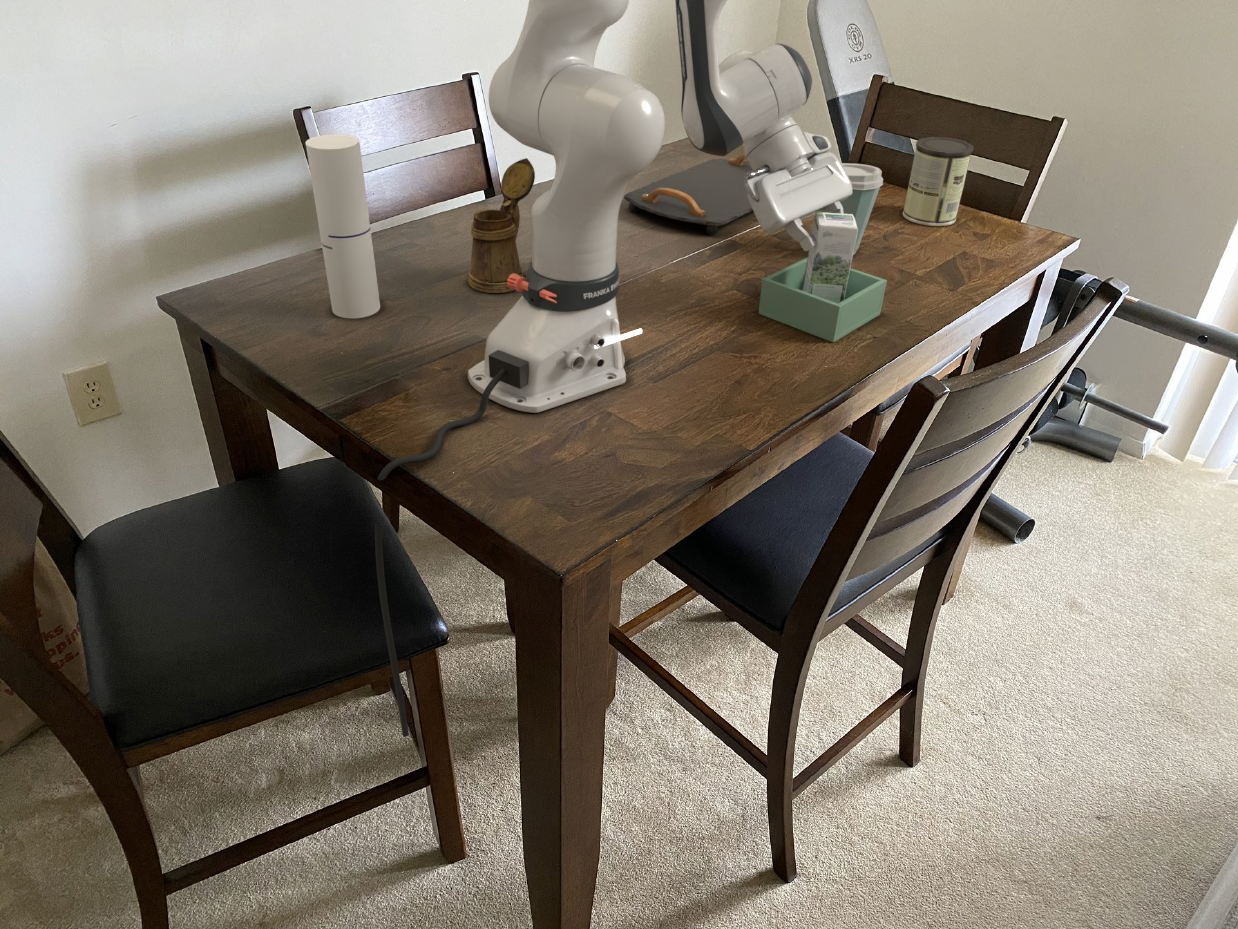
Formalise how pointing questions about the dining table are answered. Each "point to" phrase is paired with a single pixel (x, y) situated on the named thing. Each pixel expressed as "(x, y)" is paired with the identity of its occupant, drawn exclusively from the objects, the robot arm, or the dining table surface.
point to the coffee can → (937, 181)
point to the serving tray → (698, 194)
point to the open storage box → (821, 302)
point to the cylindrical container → (344, 224)
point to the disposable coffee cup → (861, 194)
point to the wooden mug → (500, 233)
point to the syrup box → (830, 256)
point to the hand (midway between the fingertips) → (827, 240)
